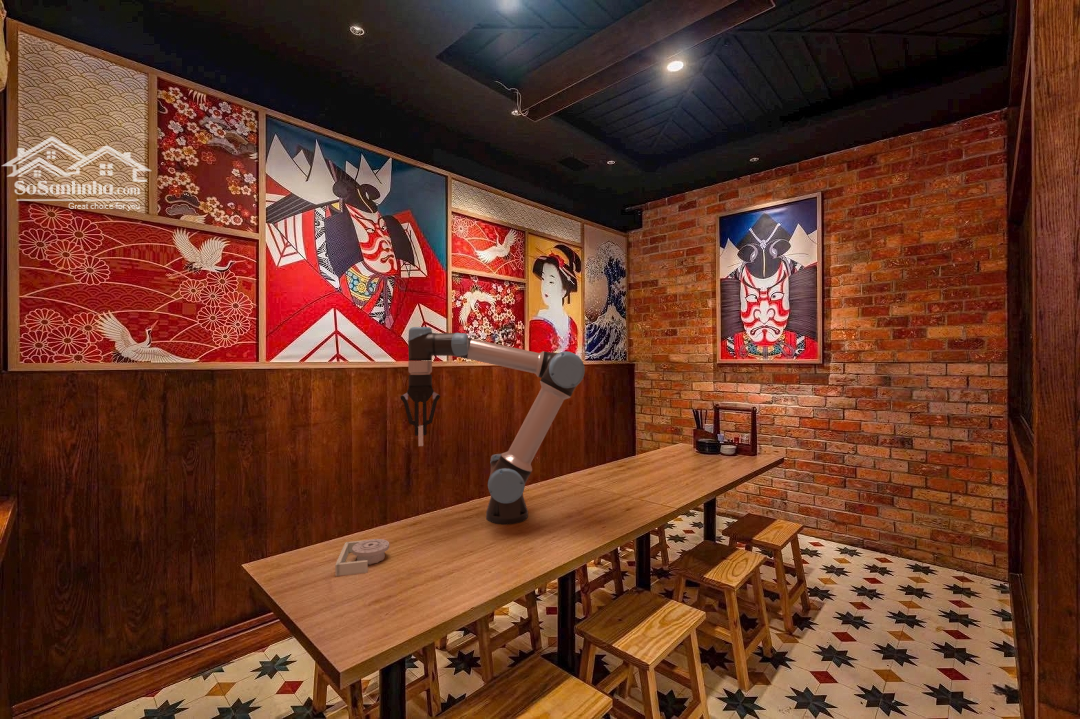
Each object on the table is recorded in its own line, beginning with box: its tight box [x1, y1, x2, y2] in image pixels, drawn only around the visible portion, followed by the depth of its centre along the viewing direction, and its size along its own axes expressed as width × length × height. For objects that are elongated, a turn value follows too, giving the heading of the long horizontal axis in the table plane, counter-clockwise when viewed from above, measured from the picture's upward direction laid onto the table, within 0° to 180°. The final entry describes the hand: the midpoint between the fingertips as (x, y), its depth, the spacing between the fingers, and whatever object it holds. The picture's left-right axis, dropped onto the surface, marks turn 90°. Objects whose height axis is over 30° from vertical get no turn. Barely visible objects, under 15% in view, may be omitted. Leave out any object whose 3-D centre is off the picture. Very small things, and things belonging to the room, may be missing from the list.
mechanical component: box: [351, 538, 390, 566], centre depth 132 cm, size 10×4×10 cm
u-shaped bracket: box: [334, 539, 369, 577], centre depth 131 cm, size 8×16×3 cm, turn 14°
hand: (420, 445), depth 151 cm, fingers closed
